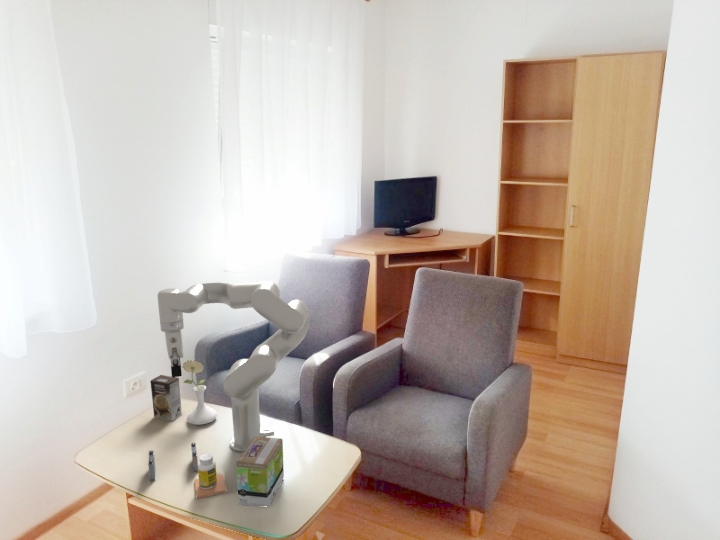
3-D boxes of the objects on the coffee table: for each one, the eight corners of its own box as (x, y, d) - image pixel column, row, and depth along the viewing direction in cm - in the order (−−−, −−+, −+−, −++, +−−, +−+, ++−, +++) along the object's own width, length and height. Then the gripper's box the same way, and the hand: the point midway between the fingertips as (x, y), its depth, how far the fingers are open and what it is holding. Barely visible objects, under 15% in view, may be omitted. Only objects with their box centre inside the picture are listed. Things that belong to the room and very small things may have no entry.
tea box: (269, 508, 162) (266, 464, 158) (237, 505, 164) (234, 461, 160) (285, 478, 176) (282, 437, 173) (255, 475, 178) (252, 434, 175)
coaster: (223, 476, 178) (223, 473, 178) (226, 492, 170) (226, 489, 170) (194, 482, 175) (194, 479, 175) (196, 498, 167) (196, 496, 167)
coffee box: (153, 418, 217) (149, 380, 213) (164, 410, 223) (160, 374, 219) (172, 421, 214) (168, 383, 210) (182, 414, 220) (179, 377, 216)
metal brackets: (197, 458, 188) (195, 441, 186) (198, 471, 181) (196, 453, 179) (150, 468, 183) (148, 450, 182) (150, 481, 176) (148, 463, 174)
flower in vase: (223, 416, 218) (218, 357, 212) (205, 429, 207) (200, 368, 202) (196, 410, 222) (190, 353, 216) (177, 424, 212) (171, 364, 206)
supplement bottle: (210, 491, 169) (207, 463, 167) (195, 487, 171) (193, 459, 169) (220, 481, 174) (218, 453, 172) (206, 478, 176) (203, 450, 173)
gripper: (184, 331, 181) (188, 379, 185) (182, 316, 197) (186, 360, 200) (160, 334, 178) (165, 382, 182) (160, 318, 194) (164, 363, 198)
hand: (176, 371), depth 191 cm, fingers open, 9 cm apart
